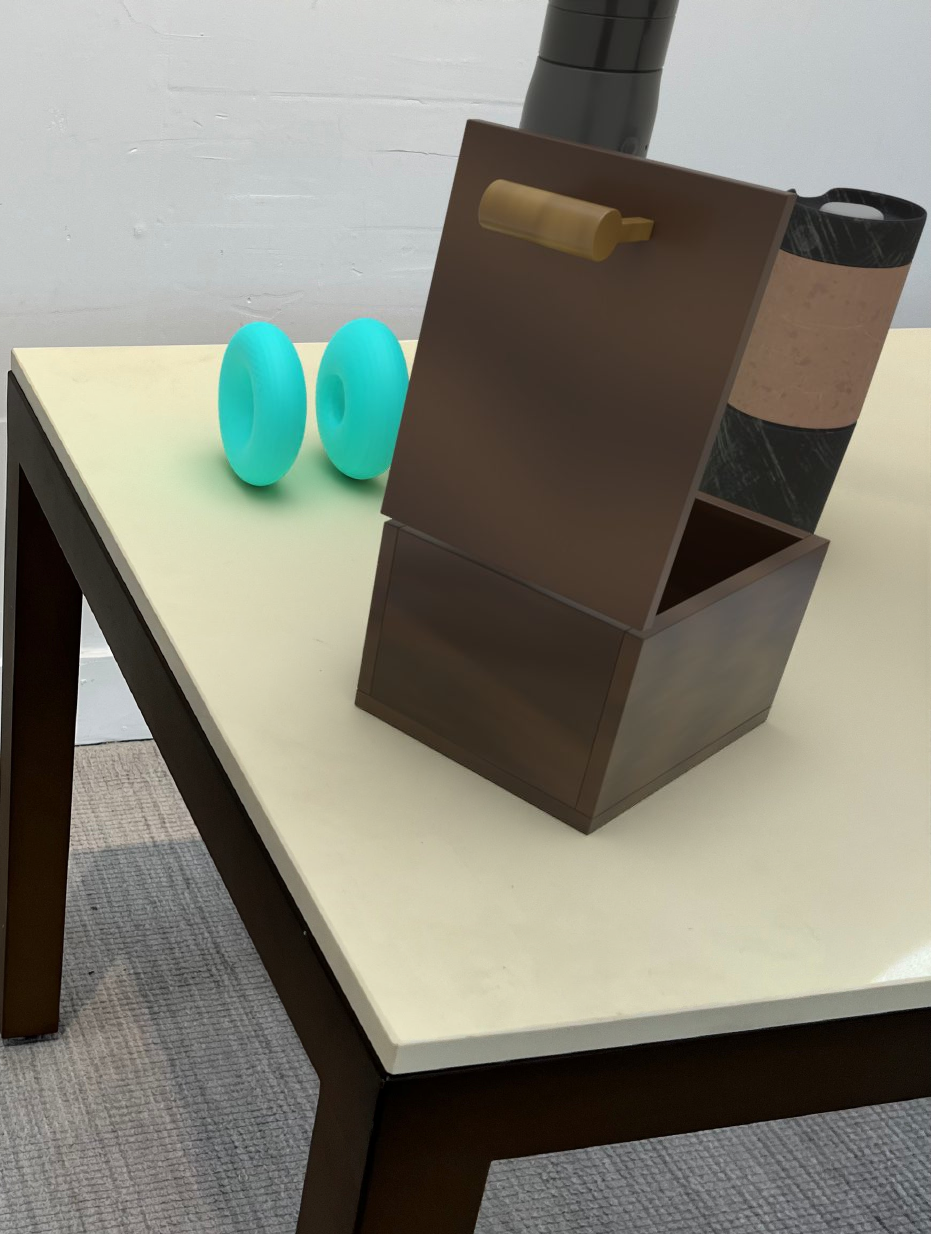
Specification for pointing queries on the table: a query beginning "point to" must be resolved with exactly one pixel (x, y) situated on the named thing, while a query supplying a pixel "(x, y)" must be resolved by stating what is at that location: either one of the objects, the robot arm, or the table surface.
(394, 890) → the table surface
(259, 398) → the donuts
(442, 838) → the table surface
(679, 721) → the chest
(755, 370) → the travel mug
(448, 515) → the lid
